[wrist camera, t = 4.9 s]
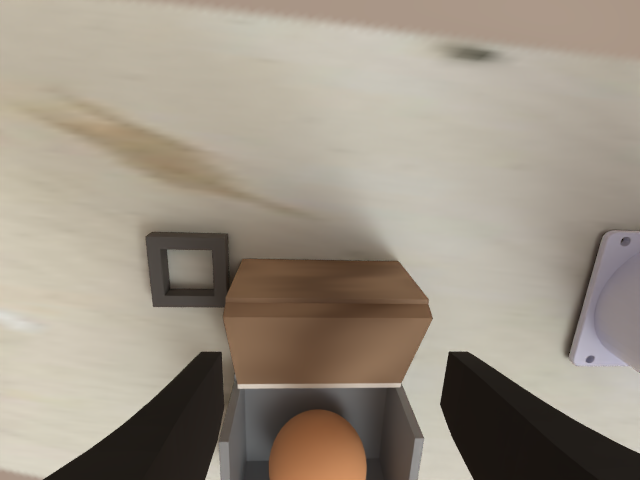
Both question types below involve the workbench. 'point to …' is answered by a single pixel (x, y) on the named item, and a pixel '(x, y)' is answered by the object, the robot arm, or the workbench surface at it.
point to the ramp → (323, 323)
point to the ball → (317, 449)
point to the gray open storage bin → (350, 403)
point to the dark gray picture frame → (160, 274)
